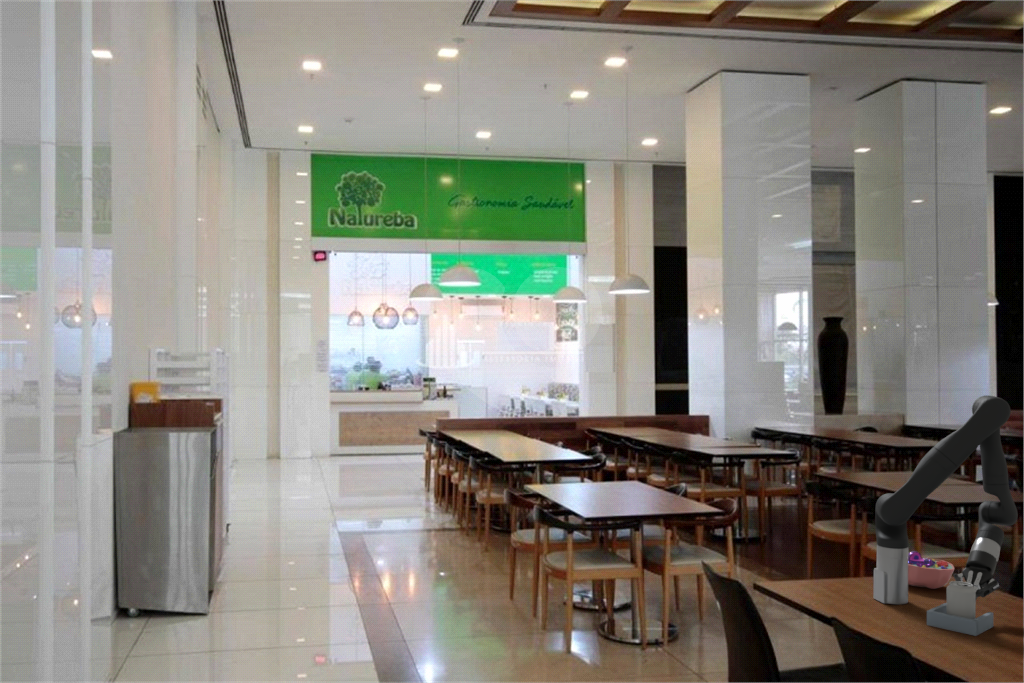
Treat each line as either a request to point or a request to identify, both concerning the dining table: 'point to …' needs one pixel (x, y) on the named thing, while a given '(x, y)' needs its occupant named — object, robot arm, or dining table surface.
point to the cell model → (928, 571)
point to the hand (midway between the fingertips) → (967, 605)
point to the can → (961, 599)
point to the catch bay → (959, 621)
